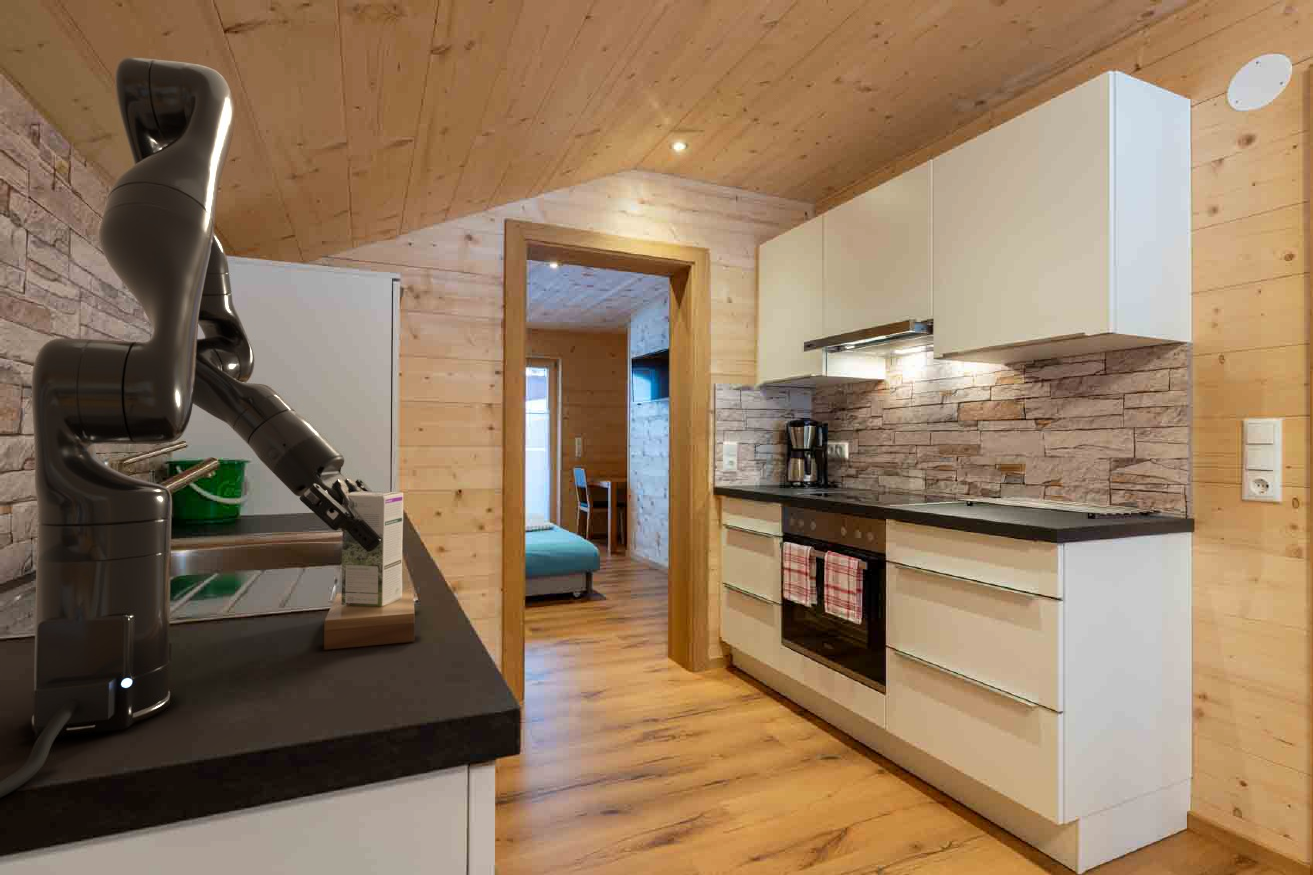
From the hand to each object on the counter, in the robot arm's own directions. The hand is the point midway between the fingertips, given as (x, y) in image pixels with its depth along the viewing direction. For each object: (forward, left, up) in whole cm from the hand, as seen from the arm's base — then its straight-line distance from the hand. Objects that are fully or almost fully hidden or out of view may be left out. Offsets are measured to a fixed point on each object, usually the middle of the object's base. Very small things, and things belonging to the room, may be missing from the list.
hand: (386, 542), depth 89 cm
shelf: (0, +1, -11) cm, 11 cm away
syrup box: (+1, +2, -8) cm, 8 cm away
